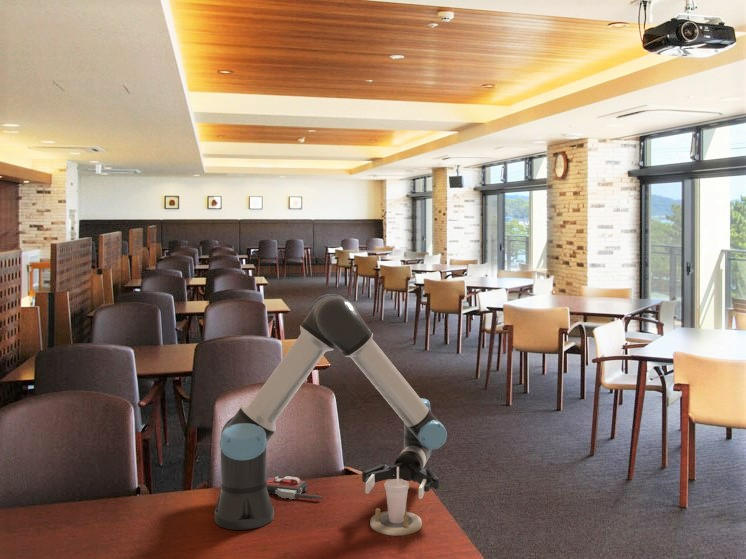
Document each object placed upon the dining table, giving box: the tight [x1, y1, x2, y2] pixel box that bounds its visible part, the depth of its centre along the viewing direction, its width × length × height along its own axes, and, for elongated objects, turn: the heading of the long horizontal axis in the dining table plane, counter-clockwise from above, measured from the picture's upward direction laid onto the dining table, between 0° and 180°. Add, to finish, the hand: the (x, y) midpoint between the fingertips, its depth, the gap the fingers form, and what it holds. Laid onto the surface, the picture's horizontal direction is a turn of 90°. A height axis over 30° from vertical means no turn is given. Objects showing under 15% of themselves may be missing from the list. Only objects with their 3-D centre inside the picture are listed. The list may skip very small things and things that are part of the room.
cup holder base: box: [369, 502, 423, 537], centre depth 181 cm, size 13×13×4 cm
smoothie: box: [383, 467, 410, 523], centre depth 181 cm, size 6×6×14 cm
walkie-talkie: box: [267, 475, 323, 500], centre depth 202 cm, size 9×4×20 cm
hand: (393, 490), depth 177 cm, fingers open, 13 cm apart
